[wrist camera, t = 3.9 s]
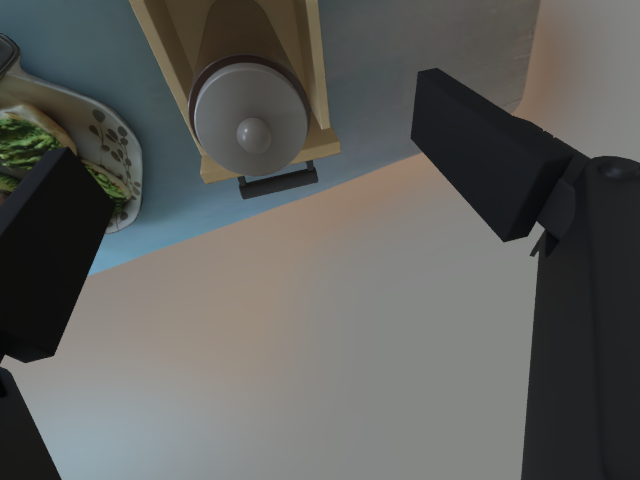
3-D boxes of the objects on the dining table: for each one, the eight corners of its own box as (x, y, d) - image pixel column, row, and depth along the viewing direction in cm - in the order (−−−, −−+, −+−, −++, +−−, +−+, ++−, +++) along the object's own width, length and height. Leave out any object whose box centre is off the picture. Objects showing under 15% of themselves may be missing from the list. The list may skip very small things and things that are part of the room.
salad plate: (-158, -35, 19) (-235, -29, 16) (158, 82, 27) (149, 102, 24) (-64, 200, 30) (-98, 231, 27) (139, 232, 38) (131, 259, 35)
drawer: (327, 154, 35) (344, 191, 30) (223, 178, 34) (222, 220, 29) (292, -145, 19) (316, -172, 14) (96, -113, 18) (48, -130, 13)
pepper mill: (220, 75, 26) (214, 210, 13) (194, 0, 22) (152, 88, 9) (278, 63, 26) (327, 183, 14) (263, -13, 22) (311, 55, 10)
